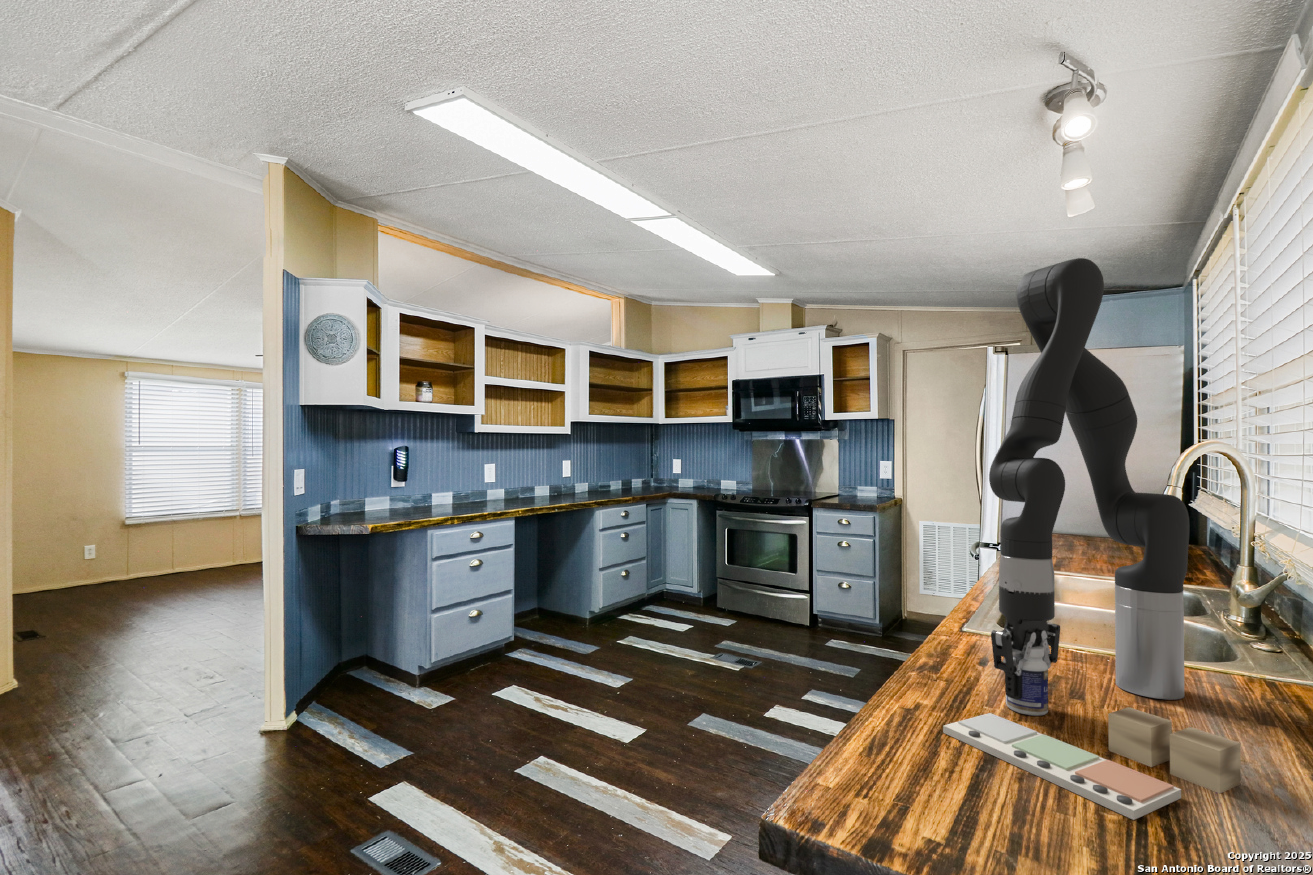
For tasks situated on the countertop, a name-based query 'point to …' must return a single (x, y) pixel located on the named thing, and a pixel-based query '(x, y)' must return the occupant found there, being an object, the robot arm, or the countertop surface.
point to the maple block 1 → (1139, 736)
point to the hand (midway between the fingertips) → (1026, 693)
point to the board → (1066, 765)
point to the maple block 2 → (1205, 759)
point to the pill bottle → (1032, 685)
